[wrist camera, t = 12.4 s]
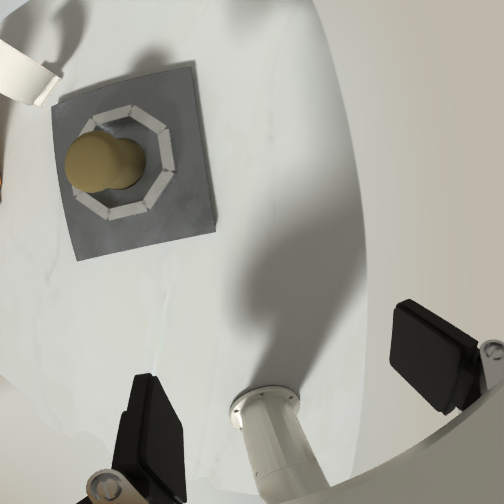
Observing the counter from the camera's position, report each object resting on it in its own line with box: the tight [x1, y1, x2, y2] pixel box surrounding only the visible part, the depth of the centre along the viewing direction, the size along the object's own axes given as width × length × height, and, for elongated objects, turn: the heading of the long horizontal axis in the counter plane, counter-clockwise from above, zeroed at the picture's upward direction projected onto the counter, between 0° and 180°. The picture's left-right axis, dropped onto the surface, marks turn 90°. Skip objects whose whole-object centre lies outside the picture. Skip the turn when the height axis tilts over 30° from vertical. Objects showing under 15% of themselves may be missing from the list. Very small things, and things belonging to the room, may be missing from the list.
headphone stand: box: [0, 39, 62, 108], centre depth 18 cm, size 5×6×12 cm
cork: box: [64, 130, 146, 193], centre depth 23 cm, size 6×6×11 cm
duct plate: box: [51, 67, 216, 261], centre depth 27 cm, size 20×18×4 cm
